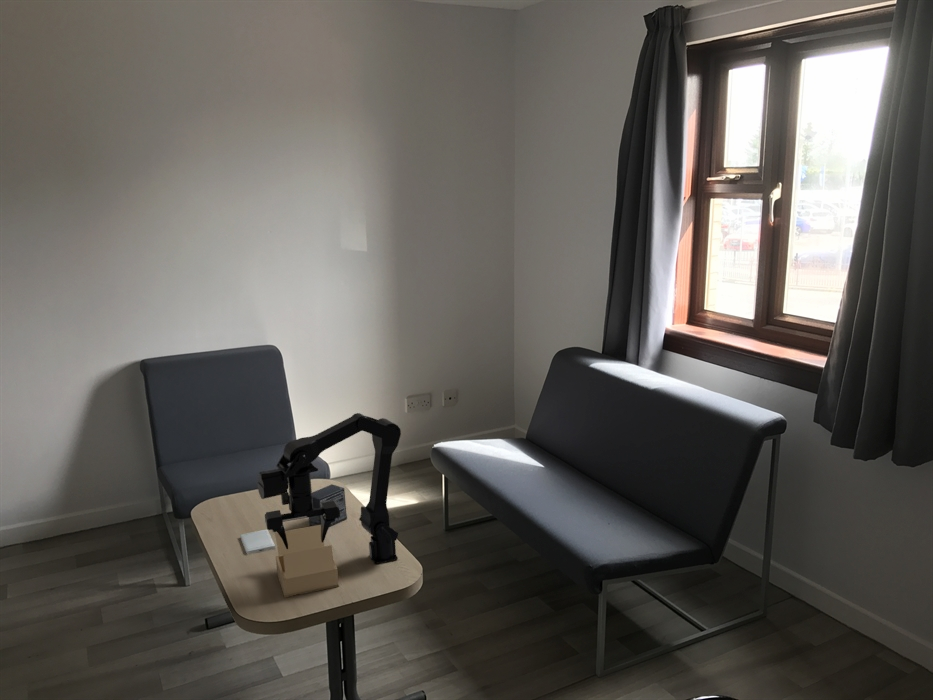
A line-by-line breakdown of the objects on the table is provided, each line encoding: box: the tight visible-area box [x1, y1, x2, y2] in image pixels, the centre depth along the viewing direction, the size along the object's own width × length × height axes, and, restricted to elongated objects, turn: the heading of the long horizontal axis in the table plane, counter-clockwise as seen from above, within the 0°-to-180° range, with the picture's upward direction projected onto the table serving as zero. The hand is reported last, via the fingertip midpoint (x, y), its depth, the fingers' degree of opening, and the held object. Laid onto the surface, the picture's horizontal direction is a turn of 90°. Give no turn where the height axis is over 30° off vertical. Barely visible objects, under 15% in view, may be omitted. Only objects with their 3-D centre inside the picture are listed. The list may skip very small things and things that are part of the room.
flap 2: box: [283, 544, 335, 579], centre depth 201 cm, size 12×6×1 cm
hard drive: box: [240, 528, 277, 555], centre depth 230 cm, size 2×8×12 cm
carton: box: [275, 555, 340, 598], centre depth 207 cm, size 14×14×5 cm
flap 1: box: [274, 525, 325, 556], centre depth 215 cm, size 12×6×1 cm
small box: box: [308, 484, 348, 528], centre depth 242 cm, size 11×6×10 cm, turn 141°
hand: (304, 545), depth 206 cm, fingers open, 9 cm apart
